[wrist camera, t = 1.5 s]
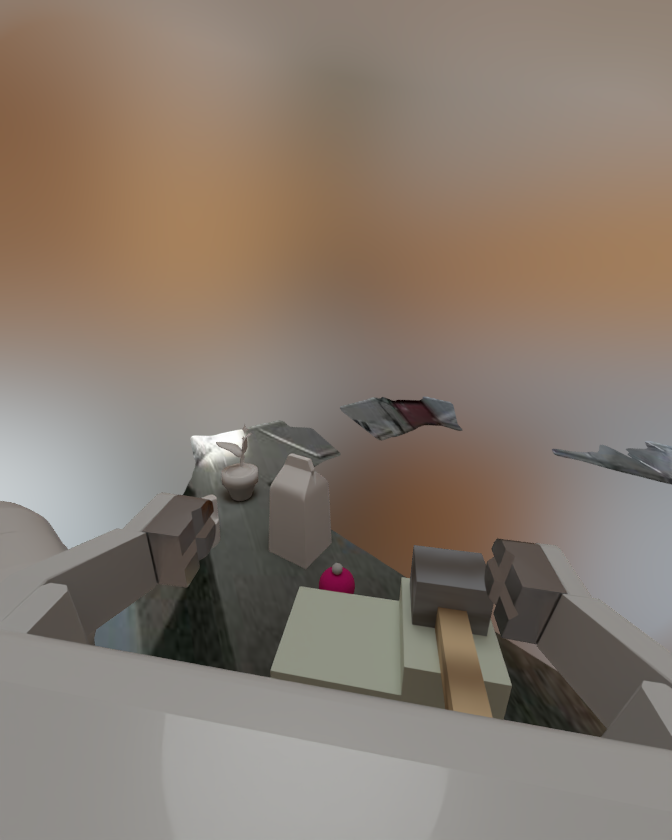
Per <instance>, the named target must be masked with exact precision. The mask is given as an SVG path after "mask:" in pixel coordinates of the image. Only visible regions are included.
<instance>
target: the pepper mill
mask: <svg viewBox="0 0 672 840" xmlns="http://www.w3.org/2000/svg"><path fill="white" fill-rule="evenodd" d="M319 589H320V590H327V591H334V592H341V593H347V594H353V593H354V589H355V583H354V578H353V576H352V574H351V573H350V572H349V571H348V570H347V569H345V568H343V567H342V565H341V564H339V563H335V564H334V565H333V566H332V567H330V568H328V569H327V570H325V572H324V573H323V574H322V575H321V577H320V581H319Z"/></svg>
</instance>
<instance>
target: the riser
mask: <svg viewBox="0 0 672 840" xmlns="http://www.w3.org/2000/svg"><path fill="white" fill-rule="evenodd" d="M472 635H473V639H474V643H475V647H476V652H477V656H478V660H479V664H480V668H481V672H482V676H483V680H484V684H485V688H486V692H487V697H488V701H489V705H490V709H491V713H492V717H493V718H496V719H501V720H503V719H504V715H505V711H506V707H507V703H508V699H509V695H510V691H511V687H512V685H511V682H510V679H509V675H508V672H507V669H506V666H505V663H504V660H503V656H502V653H501V650H500V647H499V644H498V641H497V638H496V634H495V631H494V628H493V625H492V622H491V619H490V623H489V628H488V633H487V636H482V635H475V634H472ZM271 678H274V679H280V680H285V681H291V682H296V683H302V684H308V685H313V686H319V687H324V688H330V689H335V690H341V691H346V692H352V693H357V694H363V695H369V696H374V697H380V698H385V699H391V700H396V701H402V702H407V703H413V704H418V705H424V706H429V707H435V708H441V709H445V703H444V695H443V687H442V680H441V672H440V664H439V656H438V649H437V641H436V633H435V628H431V627H425V626H418V625H412V617H411V599H410V579H409V578H402V580H401V590H400V600H399V601H394V600H388V599H381V598H374V597H367V596H361V595H354V594H347V593H341V592H334V591H327V590H320V589H314V588H307V587H299V590H298V593H297V596H296V599H295V602H294V605H293V608H292V610H291V613H290V616H289V619H288V622H287V625H286V628H285V630H284V633H283V636H282V639H281V642H280V645H279V648H278V651H277V653H276V656H275V659H274V662H273V665H272V668H271Z"/></svg>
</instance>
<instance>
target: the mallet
mask: <svg viewBox="0 0 672 840" xmlns="http://www.w3.org/2000/svg"><path fill="white" fill-rule="evenodd" d="M485 568H486V564H485V561H484V559H483V556H482V554H481V553H472V552H464V551H456V550H448V549H440V548H432V547H424V546H415V545H414V549H413V558H412V567H411V577H410V599H411V617H412V625H418V626H425V627H431V628H435V633H436V641H437V649H438V656H439V664H440V672H441V680H442V687H443V695H444V703H445V709H446V710H452V711H457V712H463V713H468V714H474V715H479V716H485V717H490V718H493V717H492V713H491V709H490V705H489V701H488V697H487V692H486V688H485V684H484V680H483V676H482V672H481V668H480V664H479V660H478V656H477V652H476V647H475V643H474V639H473V635H472V634H475V635H482V636H487V633H488V628H489V623H490V618H491V614H492V609H493V604H494V603H493V602H492V601H491V600H490V599H489V598H488V595H487V592H486V588H485V582H484V577H485Z"/></svg>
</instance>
